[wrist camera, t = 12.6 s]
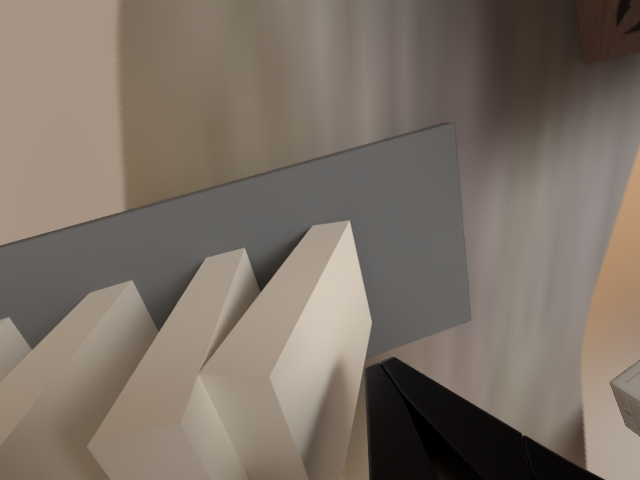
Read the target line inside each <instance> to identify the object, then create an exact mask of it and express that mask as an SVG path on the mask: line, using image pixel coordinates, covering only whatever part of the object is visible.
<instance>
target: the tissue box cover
mask: <svg viewBox="0 0 640 480" xmlns="http://www.w3.org/2000/svg"><path fill="white" fill-rule="evenodd" d="M575 5H576V12H577V19H578V26H579V33H580V40H581V46H582V53H583V60H584V63H589V62H594V61H599V60H603V59H608V58H613V57H617V56H622V55H627V54H631V53H636V52H640V0H575Z"/></svg>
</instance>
